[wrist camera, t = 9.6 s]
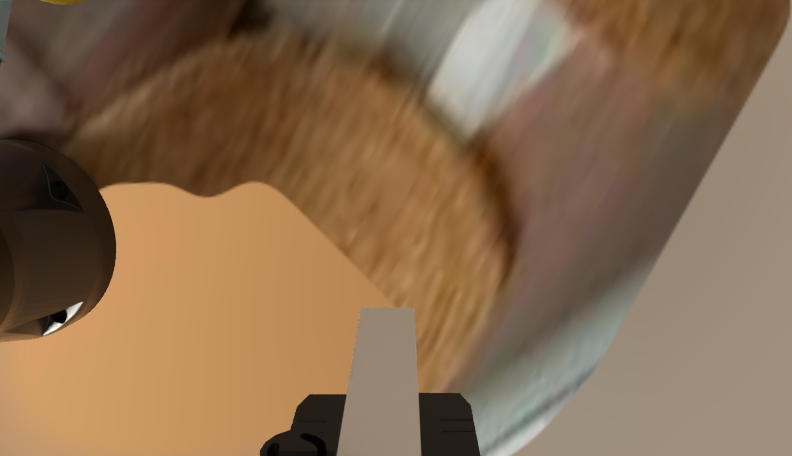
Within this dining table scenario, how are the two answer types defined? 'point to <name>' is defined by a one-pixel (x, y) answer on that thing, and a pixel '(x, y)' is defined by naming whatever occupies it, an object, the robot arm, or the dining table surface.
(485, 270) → the dining table surface
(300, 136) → the dining table surface
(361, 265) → the dining table surface
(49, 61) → the dining table surface
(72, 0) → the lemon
